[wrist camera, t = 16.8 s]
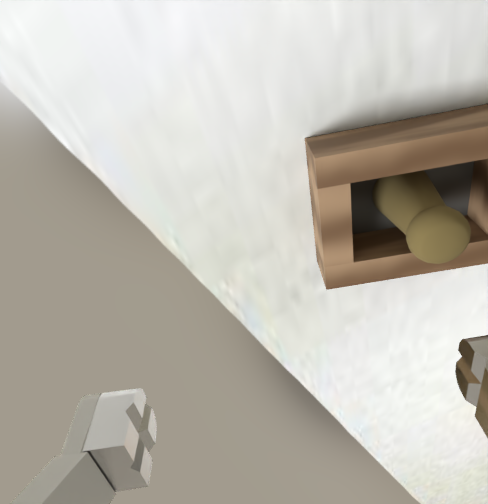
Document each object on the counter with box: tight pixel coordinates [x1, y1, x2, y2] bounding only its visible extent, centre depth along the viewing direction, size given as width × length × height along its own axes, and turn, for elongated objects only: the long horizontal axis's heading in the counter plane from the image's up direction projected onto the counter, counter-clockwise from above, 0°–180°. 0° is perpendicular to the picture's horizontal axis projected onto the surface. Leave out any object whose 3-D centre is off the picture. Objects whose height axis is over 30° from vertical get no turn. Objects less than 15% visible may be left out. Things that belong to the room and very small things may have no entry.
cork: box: [372, 170, 471, 264], centre depth 40 cm, size 6×6×11 cm
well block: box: [305, 104, 488, 289], centre depth 42 cm, size 15×20×6 cm
